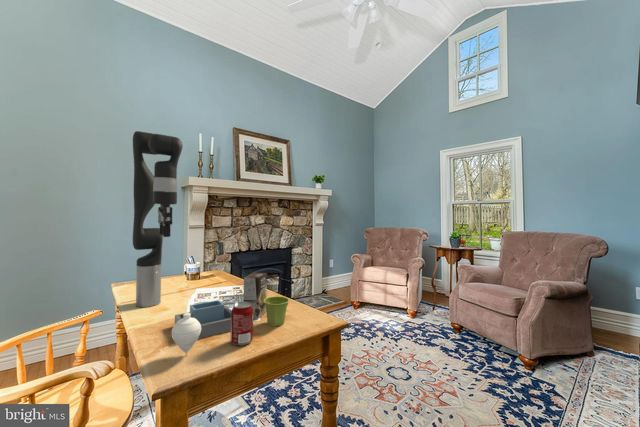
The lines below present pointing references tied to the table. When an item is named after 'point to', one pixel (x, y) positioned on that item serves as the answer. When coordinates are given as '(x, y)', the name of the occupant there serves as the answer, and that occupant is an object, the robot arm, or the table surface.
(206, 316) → the small crate
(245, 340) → the soda can
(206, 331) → the grey shallow tray
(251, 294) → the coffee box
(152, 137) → the robot arm
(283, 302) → the plant pot
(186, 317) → the spinning top
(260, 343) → the table surface
